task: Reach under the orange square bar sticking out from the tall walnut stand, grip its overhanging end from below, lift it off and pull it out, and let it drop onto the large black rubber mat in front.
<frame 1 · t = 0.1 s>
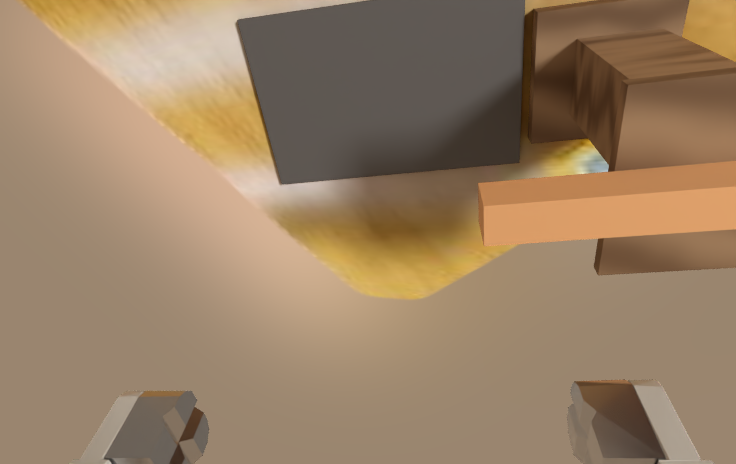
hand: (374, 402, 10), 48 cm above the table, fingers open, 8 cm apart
rubber mat: (387, 94, 55), on the table
walnut stand: (597, 69, 51), on the table
orange square bar: (635, 189, 31), point 26 cm above the table, touching walnut stand
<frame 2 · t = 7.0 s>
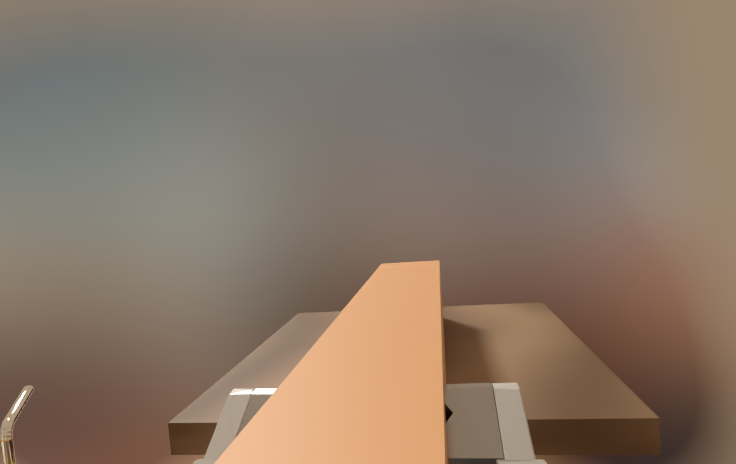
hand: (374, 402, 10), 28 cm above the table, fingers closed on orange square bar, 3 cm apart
orange square bar: (399, 398, 15), point 26 cm above the table, touching gripper, walnut stand
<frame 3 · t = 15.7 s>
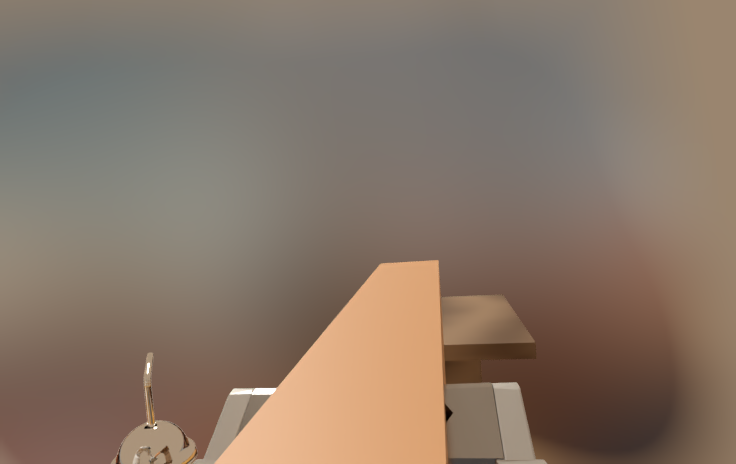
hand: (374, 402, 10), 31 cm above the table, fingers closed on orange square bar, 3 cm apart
orange square bar: (398, 398, 15), point 29 cm above the table, touching gripper
when the fingers open (20 cm above the table, at t = 18.3 s): orange square bar drops 17 cm, resting on rubber mat.
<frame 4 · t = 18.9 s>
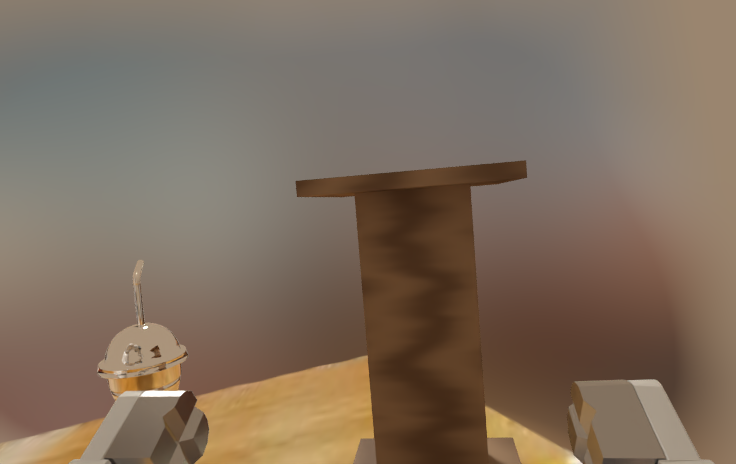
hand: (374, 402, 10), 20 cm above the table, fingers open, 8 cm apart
cup with straw: (156, 455, 49), on the table
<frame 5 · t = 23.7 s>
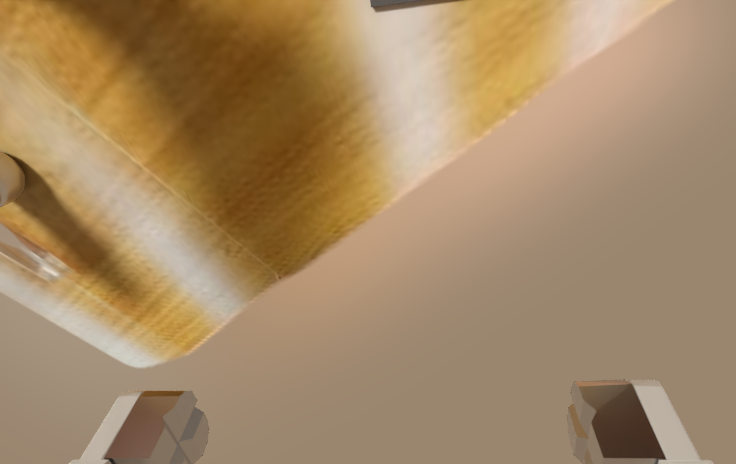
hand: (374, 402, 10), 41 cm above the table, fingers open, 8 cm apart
plastic bottle: (6, 167, 57), on the table
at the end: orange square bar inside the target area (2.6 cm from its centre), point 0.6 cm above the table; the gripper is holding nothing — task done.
